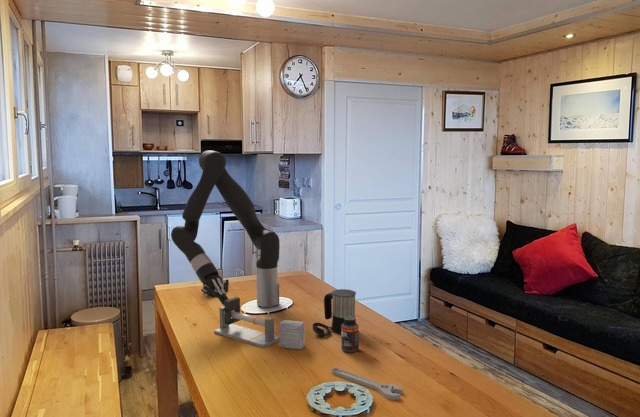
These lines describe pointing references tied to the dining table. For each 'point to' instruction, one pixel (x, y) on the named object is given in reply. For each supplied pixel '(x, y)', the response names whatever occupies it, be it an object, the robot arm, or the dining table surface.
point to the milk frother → (336, 310)
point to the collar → (231, 309)
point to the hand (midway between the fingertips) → (226, 304)
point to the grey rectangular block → (220, 272)
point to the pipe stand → (246, 333)
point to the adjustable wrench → (371, 384)
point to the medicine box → (292, 334)
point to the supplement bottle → (350, 335)
